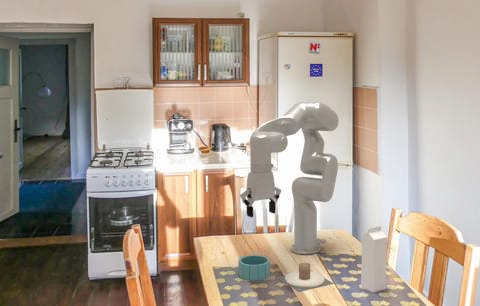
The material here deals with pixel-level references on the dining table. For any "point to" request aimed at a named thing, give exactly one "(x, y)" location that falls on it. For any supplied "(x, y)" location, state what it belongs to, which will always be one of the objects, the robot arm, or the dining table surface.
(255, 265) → the bowl
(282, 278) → the mat
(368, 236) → the milk
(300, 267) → the lid
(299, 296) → the dining table surface
